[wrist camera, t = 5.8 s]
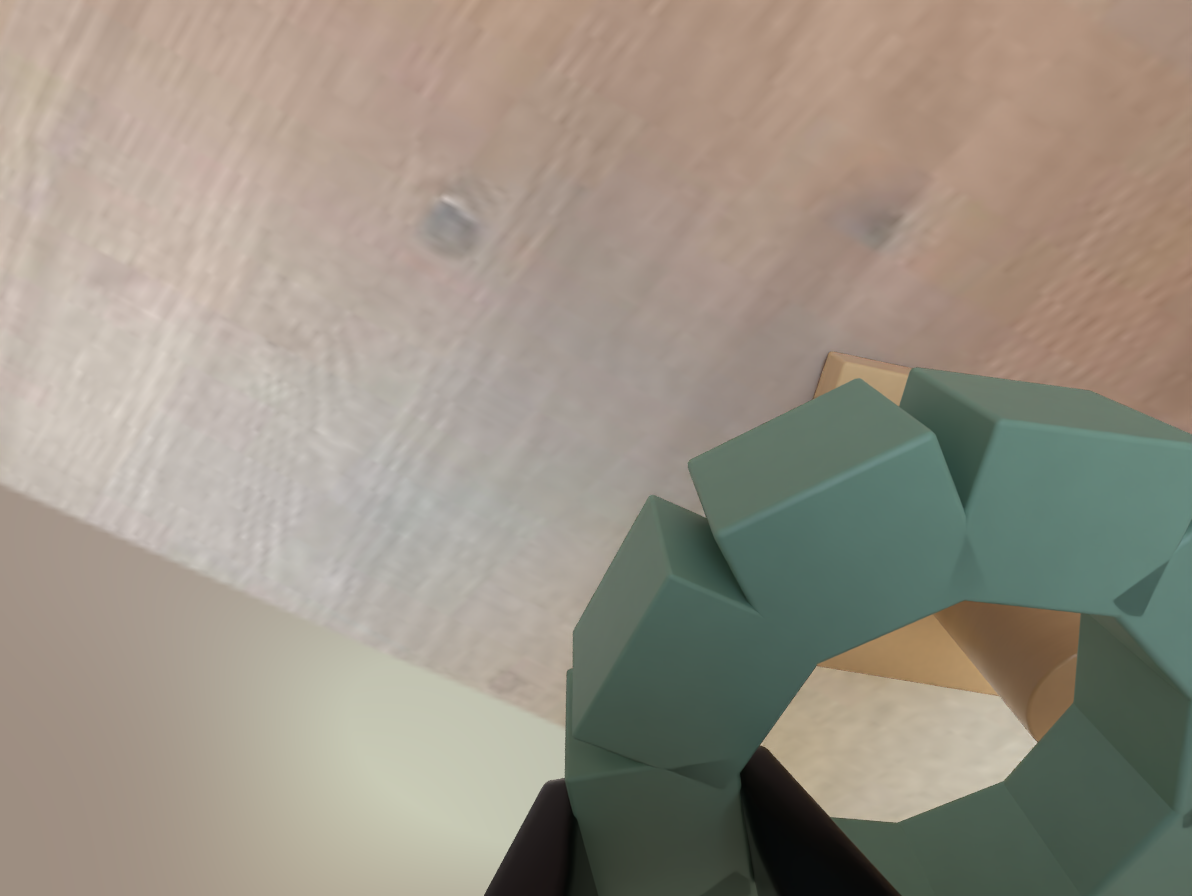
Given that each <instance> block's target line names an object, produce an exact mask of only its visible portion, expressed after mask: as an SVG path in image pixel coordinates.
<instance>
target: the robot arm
mask: <svg viewBox="0 0 1192 896" xmlns="http://www.w3.org/2000/svg"><path fill="white" fill-rule="evenodd" d="M740 778H741V789H740V796H741V802H742V808H743V815H744V821H745V827H746V833H747V839H748V845H749V851H750V858H751V864H752V870H753V876H754V881H755V885H756V890H757V894H758V896H902V895H901V894H900V893H899V892H898V891H897V890H896V889H895V888H894V887H893V886H892V885H891V883H890V882H889V881H888V880H887V879H886V878H885V877H884V876H883V875H882V874H881V873H880V871H879V870H878V869H877V868H876V867H875V866H874V865H873V864H872V863H871V862H870V860H869V859H868V858H867V857H866V856H865V855H864V854H863V853H862V852H861V851H860V850H859V848H858V847H857V846H856V845H855V844H854V843H853V842H852V841H851V840H850V839H849V838H848V836H847V835H846V834H845V833H844V832H843V831H842V830H841V829H840V828H839V827H838V826H837V824H836V823H835V822H834V821H833V820H832V819H831V818H830V817H829V816H828V815H827V814H826V812H825V811H824V810H823V809H822V808H821V807H820V806H819V805H818V804H817V803H816V802H815V800H814V799H813V798H812V797H811V796H810V795H809V794H808V793H807V792H806V791H805V790H804V788H803V787H802V786H801V785H800V784H799V783H798V782H797V781H796V780H795V779H794V778H793V776H792V775H791V774H790V773H789V772H788V771H787V770H786V769H785V768H784V767H783V766H782V764H781V763H780V762H779V761H778V760H777V759H776V758H775V757H774V756H773V755H772V754H771V752H770V751H769V750H768V749H766V748H765V747H763V746H759V747H758V748H757V750H756V751H755V753H754V754H753V755H752V757H751V758H750V760H749V761H748V762H747V764H746V765H745V767H744V768H743V769H742V771H741V772H740ZM484 896H598V892H597V889H596V885H595V882H594V878H593V874H592V871H591V867H590V864H589V860H588V856H587V853H586V849H585V845H584V842H583V838H582V835H581V831H580V827H579V824H578V820H577V818H576V817H575V816H574V814H573V811H572V807H571V803H570V799H569V795H568V791H567V787H566V783H565V778H562V779H556V780H550V781H548V782H547V783H545V784H544V786H543V787H542V789H541V791H540V792H539V794H538V796H537V798H536V800H535V802H534V804H533V805H532V807H531V809H530V811H529V813H528V815H527V817H526V819H525V820H524V822H523V824H522V826H521V828H520V830H519V832H518V833H517V835H516V837H515V839H514V841H513V843H512V844H511V846H510V848H509V850H508V852H507V854H506V856H505V857H504V859H503V861H502V863H501V865H500V867H499V869H498V870H497V872H496V874H495V876H494V878H493V880H492V881H491V883H490V885H489V887H488V889H487V891H486V893H485V894H484Z"/></svg>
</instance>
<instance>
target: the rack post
mask: <svg viewBox="0 0 1192 896" xmlns="http://www.w3.org/2000/svg"><path fill="white" fill-rule="evenodd" d="M911 369H912V368H908V367H903V366H899V365H894V364H889V363H885V362H880V361H875V360H871V359H866V358H861V357H857V356H852V355H847V354H842V353H838V352H829V354H828V357H827V360H826V363H825V366H824V369H823V372H822V375H821V378H820V381H819V384H818V387H817V389H816V392H815V395H814V398H813V399H815V398H817V397H819V396H821V395H823V394H825V393H827V392H829V391H831V390H833V389H835V388H837V387H839V386H841V385H843V384H845V383H847V382H849V381H851V380H853V379H857V378H861V379H862V380H864V381H865V382H866V383H868V384H869V385H870V386H872V387H873V388H874V389H876V390H877V391H879V392H880V393H881V394H883V395H884V396H885V397H887V398H888V399H889V400H891V401H892V402H893V403H895V404H896V405H897V406H899V405H900V401H901V398H902V395H903V392H904V388H905V385H906V382H907V378H908V375H909V372H910V370H911ZM1080 614H1081V613H1073V612H1064V611H1055V610H1046V609H1037V608H1028V607H1019V606H1010V605H1001V604H992V603H983V602H973V601H962V602H960V603H957V604H955V605H953V606H951V607H948V608H946V609H944V610H941V611H939V612H937V613H934V614H932V615H930V616H927V617H925V618H923V619H921V620H918V621H916V622H914V623H911V624H909V625H907V626H904V627H902V628H900V629H897V630H895V631H893V632H891V633H888V634H886V635H884V636H881V637H879V638H877V639H874V640H872V641H870V642H867V643H865V644H863V645H861V646H858V647H856V648H854V649H851V650H849V651H847V652H844V653H842V654H840V655H837V656H835V657H833V658H831V659H828V660H826V661H824V662H821V663H819V664H817V666H820V667H826V668H832V669H838V670H844V671H850V672H856V673H862V674H868V675H874V676H881V677H887V678H893V679H899V680H905V681H911V682H917V683H923V684H929V685H935V686H941V687H947V688H954V689H960V690H966V691H972V692H978V693H984V694H990V695H996V696H1000V697H1001V699H1002V700H1003V701H1004V702H1005V704H1006V705H1007V706H1008V707H1009V709H1010V710H1011V711H1012V712H1013V713H1014V715H1015V716H1016V717H1017V718H1018V720H1019V721H1020V722H1021V723H1022V725H1023V726H1024V727H1025V728H1026V729H1027V731H1028V732H1029V733H1030V734H1031V736H1032V737H1033V738H1034V739H1035V740H1036V741H1037V742H1039V741H1040V740H1041V738H1042V737H1043V736H1044V735H1045V734H1046V733H1047V732H1048V731H1049V729H1050V728H1051V727H1052V726H1053V725H1054V724H1055V723H1056V721H1057V720H1058V719H1059V718H1060V717H1061V716H1062V715H1063V714H1064V712H1065V711H1066V710H1067V709H1068V708H1069V707H1070V706H1071V704H1072V703H1073V701H1074V688H1075V676H1076V664H1077V651H1078V639H1079V626H1080Z"/></svg>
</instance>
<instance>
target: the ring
mask: <svg viewBox="0 0 1192 896" xmlns="http://www.w3.org/2000/svg"><path fill="white" fill-rule="evenodd" d="M688 470H689V472H690V475H691V478H692V480H693V483H694V486H695V488H696V491H697V494H698V496H699V499H700V502H701V504H702V507H703V510H704V512H705V515H706V518H705V517H703V516H700V515H698V514H696V513H694V512H691V511H689V510H687V509H684V508H682V507H680V506H678V505H675V504H673V503H671V502H669V501H666V500H664V499H662V498H659V497H657V496H655V495H650V496H649V497H648V499H647V501H646V502H645V504H644V506H643V508H642V509H641V511H640V513H639V515H638V517H637V518H636V520H635V522H634V524H633V525H632V527H631V529H630V531H629V533H628V534H627V536H626V538H625V540H624V541H623V543H622V545H621V547H620V549H619V550H618V552H617V554H616V556H615V557H614V559H613V561H612V563H611V565H610V566H609V568H608V570H607V572H606V574H605V575H604V577H603V579H602V581H601V582H600V584H599V586H598V588H597V590H596V591H595V593H594V595H593V597H592V598H591V600H590V602H589V604H588V606H587V607H586V609H585V611H584V613H583V614H582V616H581V618H580V620H579V622H578V623H577V625H576V627H575V629H574V631H573V668H572V669H569V670H568V671H567V680H566V738H565V739H566V740H565V783H566V787H567V791H568V795H569V799H570V803H571V807H572V811H573V814H574V816H575V817H576V818H577V820H578V824H579V827H580V831H581V835H582V838H583V842H584V845H585V849H586V853H587V856H588V860H589V864H590V867H591V871H592V874H593V878H594V882H595V885H596V889H597V892H598V896H758V894H757V890H756V885H755V881H754V876H753V870H752V864H751V858H750V851H749V845H748V839H747V833H746V827H745V821H744V815H743V808H742V802H741V796H740V789H741V778H740V772H741V771H742V769H743V768H744V767H745V765H746V764H747V762H748V761H749V760H750V758H751V757H752V755H753V754H754V753H755V751H756V750H757V748H758V747H759V746H760V744H761V743H762V741H763V740H764V739H765V737H766V736H767V734H768V733H769V732H770V730H771V729H772V727H773V726H774V725H775V723H776V722H777V720H778V719H779V718H780V716H781V715H782V713H783V712H784V711H785V709H786V708H787V706H788V705H789V704H790V702H791V701H792V699H793V698H794V697H795V695H796V694H797V692H798V691H799V690H800V688H801V687H802V685H803V684H804V683H805V681H806V680H807V678H808V677H809V676H810V674H811V673H812V671H813V670H814V669H815V667H816V666H817V664H819V663H821V662H824V661H826V660H828V659H831V658H833V657H835V656H837V655H840V654H842V653H844V652H847V651H849V650H851V649H854V648H856V647H858V646H861V645H863V644H865V643H867V642H870V641H872V640H874V639H877V638H879V637H881V636H884V635H886V634H888V633H891V632H893V631H895V630H897V629H900V628H902V627H904V626H907V625H909V624H911V623H914V622H916V621H918V620H921V619H923V618H925V617H927V616H930V615H932V614H934V613H937V612H939V611H941V610H944V609H946V608H948V607H951V606H953V605H955V604H957V603H960V602H962V601H973V602H983V603H992V604H1001V605H1010V606H1019V607H1028V608H1037V609H1046V610H1055V611H1064V612H1073V613H1081V614H1080V626H1079V639H1078V651H1077V664H1076V676H1075V688H1074V701H1073V703H1072V704H1071V706H1070V707H1069V708H1068V709H1067V710H1066V711H1065V712H1064V714H1063V715H1062V716H1061V717H1060V718H1059V719H1058V720H1057V721H1056V723H1055V724H1054V725H1053V726H1052V727H1051V728H1050V729H1049V731H1048V732H1047V733H1046V734H1045V735H1044V736H1043V737H1042V738H1041V740H1040V741H1039V742H1038V743H1037V744H1036V745H1035V746H1034V748H1033V749H1032V750H1031V751H1030V752H1029V753H1028V754H1027V756H1026V757H1025V758H1024V759H1023V760H1022V761H1021V762H1020V763H1019V765H1018V766H1017V767H1016V768H1015V769H1014V770H1013V771H1012V773H1011V774H1010V775H1009V776H1008V777H1007V778H1006V779H1005V780H1004V781H1003V782H1000V783H998V784H995V785H993V786H990V787H987V788H985V789H982V790H980V791H977V792H975V793H972V794H970V795H967V796H965V797H962V798H959V799H957V800H954V801H952V802H949V803H947V804H944V805H942V806H939V807H936V808H934V809H931V810H929V811H926V812H924V813H921V814H919V815H916V816H913V817H911V818H908V819H906V820H903V821H901V822H898V823H893V822H881V821H870V820H858V819H846V818H834V817H830V818H831V819H832V820H833V821H834V822H835V823H836V824H837V826H838V827H839V828H840V829H841V830H842V831H843V832H844V833H845V834H846V835H847V836H848V838H849V839H850V840H851V841H852V842H853V843H854V844H855V845H856V846H857V847H858V848H859V850H860V851H861V852H862V853H863V854H864V855H865V856H866V857H867V858H868V859H869V860H870V862H871V863H872V864H873V865H874V866H875V867H876V868H877V869H878V870H879V871H880V873H881V874H882V875H883V876H884V877H885V878H886V879H887V880H888V881H889V882H890V883H891V885H892V886H893V887H894V888H895V889H896V890H897V891H898V892H899V893H900V894H901V895H902V896H1192V434H1190V433H1187V432H1185V431H1183V430H1180V429H1178V428H1176V427H1173V426H1171V425H1169V424H1166V423H1164V422H1162V421H1159V420H1157V419H1155V418H1153V417H1150V416H1148V415H1146V414H1143V413H1141V412H1139V411H1136V410H1134V409H1132V408H1129V407H1127V406H1125V405H1122V404H1120V403H1118V402H1116V401H1113V400H1111V399H1109V398H1106V397H1104V396H1102V395H1099V394H1097V393H1095V392H1092V391H1090V390H1082V389H1075V388H1067V387H1060V386H1052V385H1045V384H1038V383H1030V382H1023V381H1015V380H1008V379H1000V378H993V377H986V376H978V375H971V374H963V373H956V372H948V371H941V370H934V369H926V368H919V367H916V368H912V369H911V370H910V372H909V375H908V378H907V382H906V385H905V388H904V392H903V395H902V398H901V401H900V405H899V406H897V405H896V404H895V403H893V402H892V401H891V400H889V399H888V398H887V397H885V396H884V395H883V394H881V393H880V392H879V391H877V390H876V389H874V388H873V387H872V386H870V385H869V384H868V383H866V382H865V381H864V380H862V379H861V378H857V379H853V380H851V381H849V382H847V383H845V384H843V385H841V386H839V387H837V388H835V389H833V390H831V391H829V392H827V393H825V394H823V395H821V396H819V397H817V398H815V399H813V400H811V401H809V402H807V403H805V404H803V405H801V406H799V407H797V408H795V409H792V410H790V411H788V412H786V413H784V414H782V415H780V416H778V417H776V418H774V419H772V420H770V421H768V422H766V423H764V424H762V425H760V426H758V427H756V428H754V429H752V430H750V431H748V432H746V433H744V434H742V435H740V436H738V437H736V438H734V439H731V440H729V441H727V442H725V443H723V444H721V445H719V446H717V447H715V448H713V449H711V450H709V451H707V452H705V453H703V454H701V455H699V456H697V457H695V458H693V459H691V460H690V461H689V462H688Z"/></svg>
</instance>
